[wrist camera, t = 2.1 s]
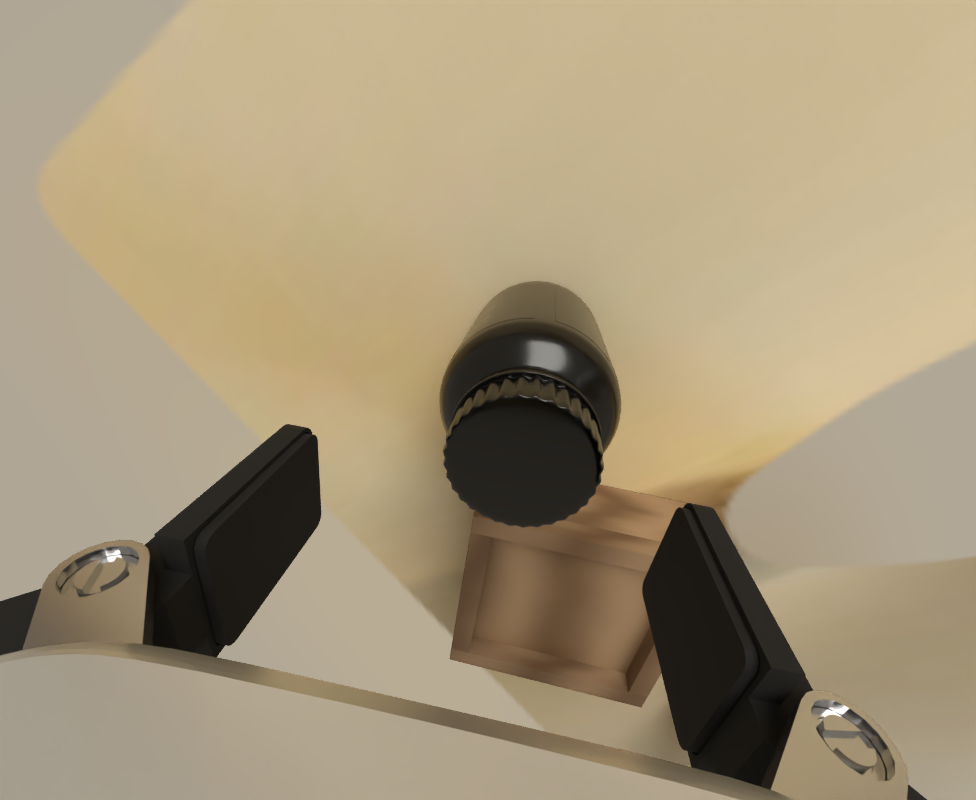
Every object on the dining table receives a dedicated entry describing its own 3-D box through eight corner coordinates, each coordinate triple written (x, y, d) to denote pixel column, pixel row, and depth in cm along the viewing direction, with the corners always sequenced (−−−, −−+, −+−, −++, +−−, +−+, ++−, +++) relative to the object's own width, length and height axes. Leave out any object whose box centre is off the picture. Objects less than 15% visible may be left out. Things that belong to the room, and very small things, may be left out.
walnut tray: (691, 504, 26) (720, 570, 21) (629, 633, 31) (641, 707, 27) (488, 461, 27) (473, 515, 22) (465, 593, 32) (449, 659, 28)
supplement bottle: (502, 411, 25) (460, 569, 14) (456, 306, 22) (363, 402, 12) (616, 376, 23) (665, 531, 12) (577, 257, 20) (597, 318, 10)
